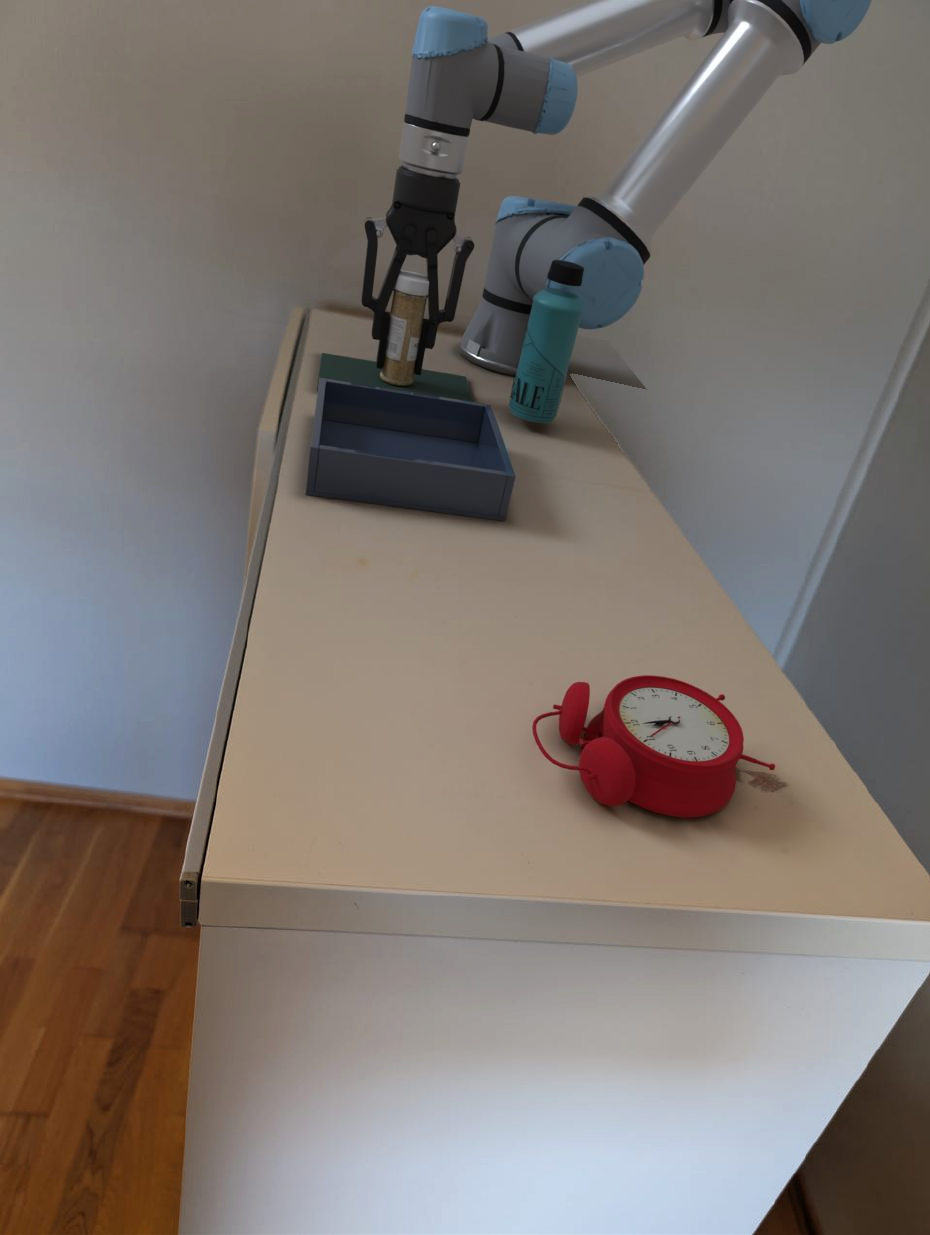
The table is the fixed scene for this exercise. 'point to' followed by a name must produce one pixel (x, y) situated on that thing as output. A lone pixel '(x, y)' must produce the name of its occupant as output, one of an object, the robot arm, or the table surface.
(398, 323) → the sprinkles bottle
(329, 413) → the open box
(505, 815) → the table surface
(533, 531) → the table surface
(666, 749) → the alarm clock
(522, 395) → the beverage bottle
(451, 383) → the mat
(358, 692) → the table surface
